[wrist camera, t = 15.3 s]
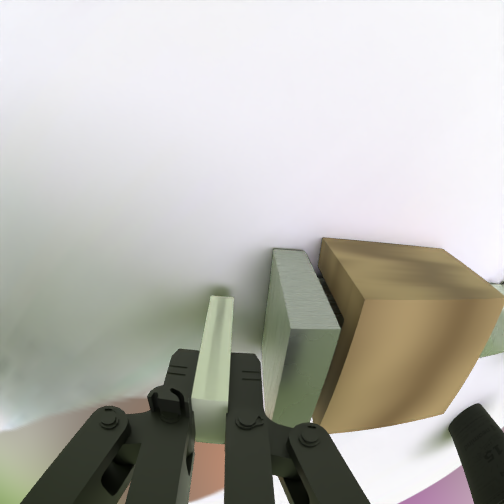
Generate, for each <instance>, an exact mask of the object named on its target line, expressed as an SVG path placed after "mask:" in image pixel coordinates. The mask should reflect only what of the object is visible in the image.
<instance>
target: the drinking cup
mask: <svg viewBox="0 0 504 504" xmlns="http://www.w3.org/2000/svg"><path fill="white" fill-rule="evenodd" d="M449 431H450V433H451V436H452V439H453V441H454V444H455V447H456V449H457V452H458V455H459V457H460V460H461V463H462V466H463V469H464V472H465V475H466V478H467V481H468V484H469V488H470V491H471V494H472V498H473V501H474V504H504V433H503V431H502V430H501V429H500V427H499V426H498V425H497V424H496V422H495V421H494V420H493V419H492V418H491V416H490V415H489V414H488V413H487V411H486V410H485V409H484V408H483V407H482V405H481V404H475V405H473V406H471V407H469V408H467V409H466V410H465V411H463V412H462V413H461V414H459V415H458V416H457V417H456V418H455V419H454V420H453V421H452V423H451V424H450V426H449Z"/></svg>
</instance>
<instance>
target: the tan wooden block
mask: <svg viewBox="0 0 504 504" xmlns="http://www.w3.org/2000/svg"><path fill="white" fill-rule="evenodd" d="M318 268H319V269H320V271H321V273H322V275H323V277H324V279H325V281H326V283H327V285H328V287H329V289H330V291H331V293H332V295H333V297H334V299H335V301H336V303H337V305H338V307H339V309H340V312H341V314H342V316H343V318H344V322H343V326H342V329H341V333H340V336H339V340H338V343H337V346H336V349H335V353H334V356H333V359H332V362H331V365H330V368H329V371H328V374H327V376H326V379H325V382H324V384H323V387H322V390H321V393H320V396H319V399H318V401H317V404H316V407H315V409H314V412H313V415H312V418H313V423H315V424H318V425H320V426H322V427H323V428H324V429H325V430H326V431H327V432H328V434H333V433H344V432H352V431H360V430H368V429H374V428H381V427H386V426H392V425H397V424H402V423H407V422H412V421H416V420H421V419H425V418H429V417H433V416H437V415H441V414H444V412H445V411H446V409H447V408H448V407H449V405H450V404H451V402H452V401H453V399H454V398H455V396H456V395H457V393H458V392H459V390H460V389H461V387H462V385H463V384H464V382H465V381H466V379H467V377H468V376H469V374H470V372H471V371H472V369H473V367H474V365H475V364H476V362H477V360H478V358H479V356H480V355H481V353H482V351H483V349H484V347H485V345H486V343H487V341H488V339H489V337H490V335H491V333H492V331H493V329H494V327H495V325H496V323H497V320H498V318H499V316H500V314H501V311H502V309H503V307H504V295H503V294H502V293H500V292H499V291H498V290H497V289H496V288H494V287H493V286H492V285H491V284H489V283H488V282H487V281H485V280H484V279H483V278H482V277H480V276H479V275H478V274H476V273H475V272H474V271H472V270H471V269H470V268H468V267H467V266H466V265H464V264H463V263H462V262H460V261H459V260H458V259H456V258H455V257H453V256H452V255H451V254H449V253H448V252H446V251H445V250H444V249H438V248H429V247H419V246H409V245H399V244H389V243H378V242H368V241H357V240H345V239H334V238H323V239H322V245H321V251H320V256H319V262H318Z"/></svg>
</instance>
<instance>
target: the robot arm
mask: <svg viewBox="0 0 504 504" xmlns="http://www.w3.org/2000/svg"><path fill="white" fill-rule="evenodd" d="M233 306H234V297H224V296H211V298H210V303H209V308H208V313H207V317H206V322H205V327H204V332H203V338H202V343H201V348H200V351H197V350H187V349H178V350H177V351H176V352H175V353H174V354H173V355H172V358H171V361H170V364H169V368H168V371H167V374H166V378H165V381H164V385H162V386H158V387H156V388H154V389H153V390H151V391H150V393H149V394H148V396H147V398H148V402H149V406H150V410H149V411H147V412H144V413H138V414H125V412H124V411H122V410H121V409H120V408H118V407H114V406H104V407H101V408H99V409H97V410H96V411H95V412H94V413H93V414H92V415H91V416H90V418H89V419H88V420H87V421H86V423H85V424H84V425H83V426H82V427H81V428H80V430H79V431H78V432H77V433H76V434H75V436H74V437H73V438H72V439H71V441H70V442H69V443H68V444H67V446H66V447H65V448H64V449H63V450H62V452H61V453H60V454H59V456H58V457H57V458H56V459H55V460H54V462H53V463H52V464H51V465H50V467H49V468H48V469H47V470H46V471H45V473H44V474H43V475H42V477H41V478H40V479H39V480H38V482H37V483H36V484H35V485H34V487H33V488H32V489H31V491H30V492H29V493H28V494H27V495H26V497H25V498H24V499H23V501H22V502H21V503H20V504H117V502H118V501H119V499H120V498H121V496H122V494H123V493H124V491H125V490H126V488H127V486H128V485H129V483H130V481H131V483H130V487H129V491H128V495H127V499H126V503H125V504H188V500H189V492H190V485H191V477H192V470H193V462H194V455H195V453H194V443H195V441H196V442H205V443H214V444H225V484H224V504H275V499H274V488H273V477H272V475H276V476H278V478H279V480H280V482H281V485H282V487H283V489H284V492H285V494H286V496H287V499H288V501H289V503H290V504H371V503H370V502H369V500H368V499H367V497H366V495H365V494H364V492H363V490H362V489H361V487H360V486H359V484H358V482H357V481H356V479H355V477H354V476H353V474H352V472H351V471H350V469H349V467H348V466H347V464H346V462H345V461H344V459H343V457H342V456H341V454H340V452H339V451H338V449H337V447H336V446H335V444H334V442H333V441H332V439H331V437H330V435H329V434H328V432H327V431H326V430H325V429H324V428H323V427H322V426H320V425H318V424H315V423H310V422H308V423H301V424H298V425H296V426H295V427H294V428H291V427H287V426H283V425H280V424H277V423H275V422H273V421H272V420H270V419H269V418H268V417H267V415H266V414H265V412H264V408H263V394H262V381H261V364H260V361H259V359H258V358H257V356H256V355H255V354H247V353H231V340H232V322H233Z"/></svg>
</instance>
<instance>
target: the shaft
mask: <svg viewBox="0 0 504 504" xmlns="http://www.w3.org/2000/svg"><path fill="white" fill-rule="evenodd" d="M491 285H492V286H493V287H494V288H496V289H497V290H498V291H499V292H500V293H502V294H503V295H504V287H503V286H502V285H501V284H491ZM343 322H344V318H343V316H342V314H341V312H340V309H339V307H338V305H337V303H336V301H335V299H334V297H333V295H332V293H331V291H330V289H329V287H328V285H327V283H326V281H325V279H324V278H317V275H316V273H315V271H314V269H313V267H312V265H311V263H310V261H309V259H308V256H307V254H306V252H305V251H295V250H281V249H273V258H272V266H271V275H270V283H269V292H268V300H267V308H266V316H265V324H264V332H263V339H262V347H261V353H262V369H263V386H264V402H265V414H266V415H267V417H268V418H269V419H270V420H272V421H273V422H275V423H277V424H280V425H283V426H287V427H291V428H294V427H295V426H296V425H298V424H301V423H308V422H310V420H311V417H312V415H313V412H314V409H315V407H316V404H317V401H318V399H319V396H320V393H321V390H322V387H323V384H324V382H325V379H326V376H327V374H328V371H329V368H330V365H331V362H332V359H333V356H334V353H335V349H336V346H337V343H338V340H339V336H340V333H341V329H342V326H343ZM502 352H504V307H503V309H502V311H501V314H500V316H499V318H498V320H497V323H496V325H495V327H494V329H493V331H492V333H491V335H490V337H489V339H488V341H487V343H486V345H485V347H484V349H483V351H482V353H481V355H480V356H479V358H481V357H486V356H490V355H494V354H498V353H502Z"/></svg>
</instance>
